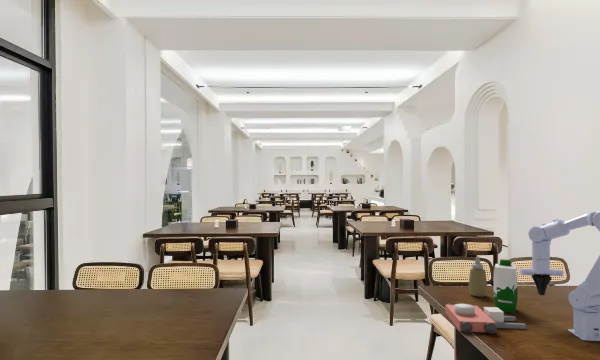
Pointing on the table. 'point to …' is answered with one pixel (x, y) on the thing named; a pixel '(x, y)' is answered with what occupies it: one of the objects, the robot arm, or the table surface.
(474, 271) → the squeeze bottle
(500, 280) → the milk carton
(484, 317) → the forklift
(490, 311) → the white block
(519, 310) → the table surface
